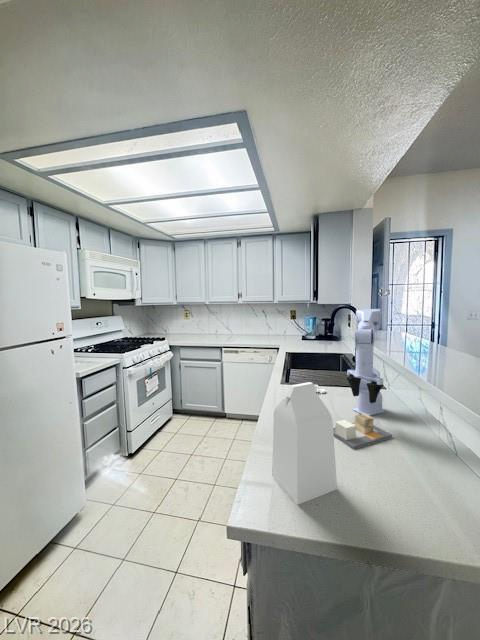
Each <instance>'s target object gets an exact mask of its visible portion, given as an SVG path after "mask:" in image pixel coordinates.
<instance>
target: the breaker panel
mask: <svg viewBox="0 0 480 640" xmlns="http://www.w3.org/2000/svg"><path fill="white" fill-rule="evenodd" d="M351 423H352V424H354V425H355V422H351ZM333 433H334V439H335V438H336V439H337V440H339V441H340V442H342V443H343V444H345V445H346V446H348V447H349V448H350V449H352V450H357V449H359V448H363V447H367V446H369V445H372V444H376V443H380V442H381V441H385V440H389V439H392V438H393V434H392V433H389V432H387V431H386V430H384V429H382V428H379V427H378V426H376V425H375V424H373V432H371V433H368V434H363V433H361V432H359V431H358V430H356V437H355V438H352V439H348V440H345V439H344V438H342V437H341V436H339V435H338V434H336V426H335V427H333Z"/></svg>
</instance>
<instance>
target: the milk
mask: <svg viewBox="0 0 480 640" xmlns="http://www.w3.org/2000/svg"><path fill="white" fill-rule="evenodd" d="M318 394H319V393H318V392H317V393H316V390H315V387H314V382H311V381H308V382H302V383H301V382H300V383H295V384H292V385H290V388H289V390H288V392H287V395H286V397H285V398H284V399H282V401H280V403H278V404H277V406H275V408H274V411H273V429H272V432H273V433H272V463H271V464H272V466H271V476H272V477H273V479H274V480H275V481H276V482H277V483H278V484H279V486H280V487H281V488H282V489H283V491H284V492H286V494H287V495H288V496H289V497H290V499H291V500H292V501H293V502H294V503H295V504H296V505H297V506H299V505H301V504H303V503H305V502H308V501H312V500H314V499H316V498H318V497H321V496H323V495H326V494H328V493H331V492H333V491H336V490H338V481H337V465H336V451H335V450H336V449H335V437H334V433H333V428H334V422H333V421H334V420H333V417H332V414H331V413H330V410H329V408H328V407H327V406H326V405H325V403H324V402H323V400H322V399H321V398H320V395H318Z"/></svg>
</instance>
